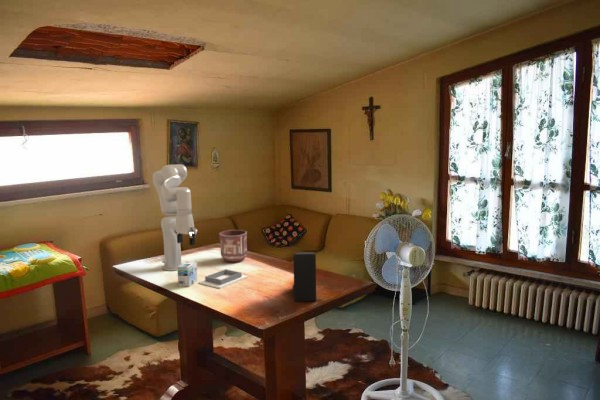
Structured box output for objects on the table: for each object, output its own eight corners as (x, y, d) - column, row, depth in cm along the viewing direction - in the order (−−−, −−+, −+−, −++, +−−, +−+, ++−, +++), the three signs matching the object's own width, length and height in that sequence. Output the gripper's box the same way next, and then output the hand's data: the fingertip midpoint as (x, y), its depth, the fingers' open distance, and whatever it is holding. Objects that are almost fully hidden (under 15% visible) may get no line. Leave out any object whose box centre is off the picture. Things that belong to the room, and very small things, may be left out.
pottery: (218, 257, 294) (217, 230, 291) (245, 255, 299) (244, 228, 297) (222, 265, 278) (221, 237, 275) (250, 262, 283) (249, 234, 280)
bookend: (293, 286, 238) (292, 242, 234) (313, 285, 238) (313, 242, 235) (294, 302, 215) (293, 254, 211) (316, 301, 215) (316, 254, 212)
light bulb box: (189, 287, 239) (188, 267, 237) (177, 286, 240) (176, 266, 238) (198, 280, 249) (197, 261, 247) (186, 280, 250) (185, 261, 249)
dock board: (198, 283, 244) (198, 277, 244) (227, 272, 262) (226, 267, 261) (220, 288, 235) (219, 282, 235) (248, 277, 253) (247, 271, 252)
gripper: (168, 211, 241) (169, 243, 243) (190, 214, 231) (191, 247, 233) (179, 209, 247) (180, 240, 249) (201, 212, 237) (202, 244, 239)
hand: (186, 243), depth 241 cm, fingers open, 9 cm apart
